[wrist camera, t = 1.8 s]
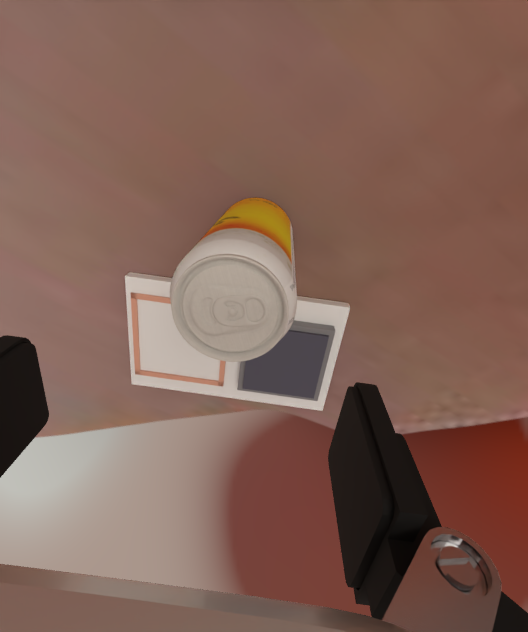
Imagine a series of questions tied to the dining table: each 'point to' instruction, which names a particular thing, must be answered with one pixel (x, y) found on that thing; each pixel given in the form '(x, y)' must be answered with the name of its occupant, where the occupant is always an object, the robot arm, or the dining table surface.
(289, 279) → the beer can
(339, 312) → the stamping board
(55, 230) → the dining table surface
